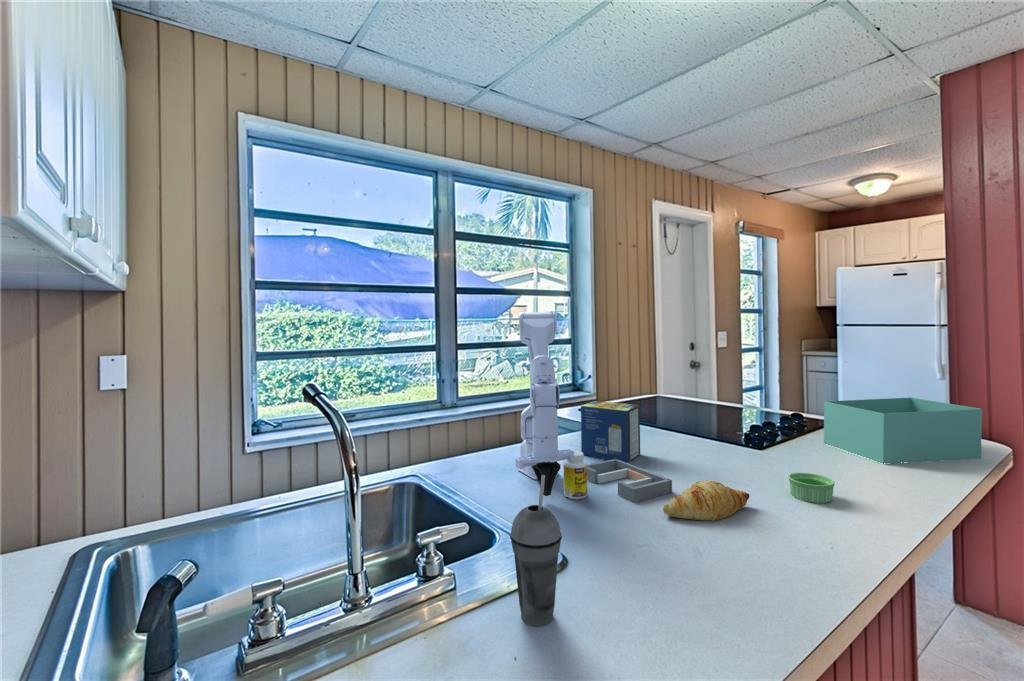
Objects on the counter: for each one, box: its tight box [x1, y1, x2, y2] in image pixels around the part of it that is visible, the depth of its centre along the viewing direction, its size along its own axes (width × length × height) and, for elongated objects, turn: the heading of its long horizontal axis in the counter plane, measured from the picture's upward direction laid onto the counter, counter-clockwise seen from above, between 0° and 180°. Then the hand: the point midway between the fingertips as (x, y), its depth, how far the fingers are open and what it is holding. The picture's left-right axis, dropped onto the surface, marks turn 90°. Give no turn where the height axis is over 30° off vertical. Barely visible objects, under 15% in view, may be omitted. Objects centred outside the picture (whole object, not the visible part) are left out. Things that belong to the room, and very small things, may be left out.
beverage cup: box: [509, 475, 563, 628], centre depth 64 cm, size 7×7×20 cm
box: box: [823, 397, 983, 465], centre depth 140 cm, size 21×32×14 cm, turn 98°
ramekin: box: [788, 472, 836, 504], centre depth 106 cm, size 9×9×4 cm
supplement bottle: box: [562, 450, 588, 500], centre depth 109 cm, size 6×6×10 cm
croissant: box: [662, 480, 750, 522], centre depth 99 cm, size 21×10×8 cm
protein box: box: [580, 400, 641, 464], centre depth 142 cm, size 10×15×16 cm
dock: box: [587, 459, 673, 503], centre depth 116 cm, size 20×12×3 cm, turn 28°
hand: (546, 494), depth 105 cm, fingers closed
